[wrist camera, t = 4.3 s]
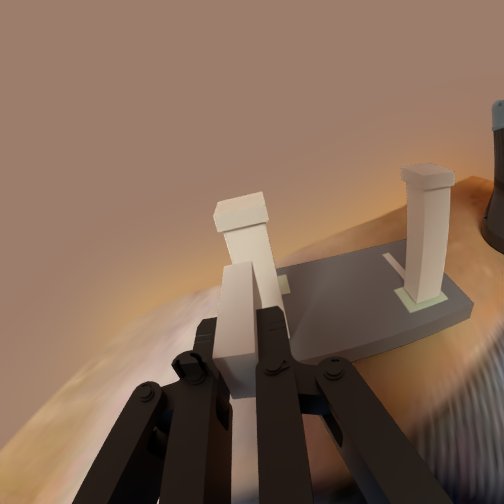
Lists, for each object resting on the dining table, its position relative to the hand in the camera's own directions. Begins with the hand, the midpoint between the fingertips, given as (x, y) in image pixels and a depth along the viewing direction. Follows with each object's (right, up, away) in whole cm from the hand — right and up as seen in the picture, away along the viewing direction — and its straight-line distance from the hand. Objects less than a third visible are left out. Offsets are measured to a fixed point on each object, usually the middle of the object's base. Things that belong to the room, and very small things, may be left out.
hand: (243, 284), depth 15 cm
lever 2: (+18, -2, +9) cm, 20 cm away
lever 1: (+2, -6, +10) cm, 12 cm away
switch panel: (+11, -4, +14) cm, 18 cm away
